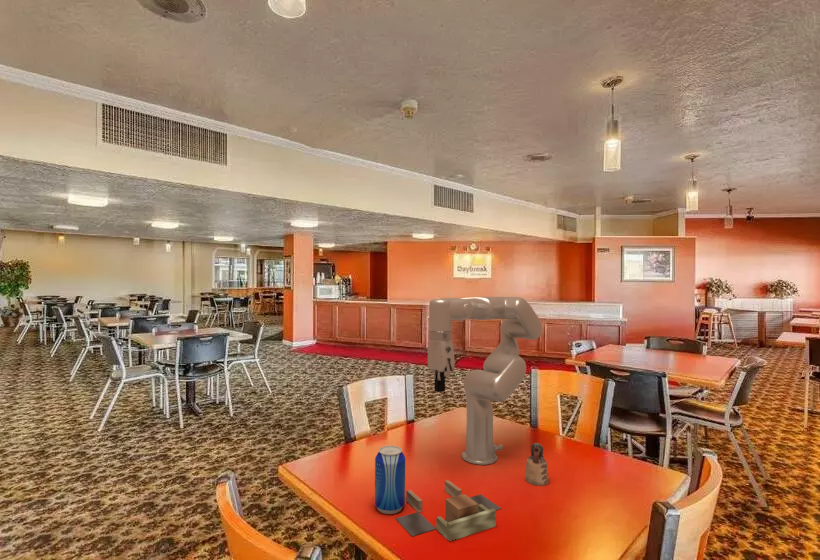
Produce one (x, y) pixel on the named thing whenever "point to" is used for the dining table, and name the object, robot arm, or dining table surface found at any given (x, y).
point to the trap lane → (453, 529)
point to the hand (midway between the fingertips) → (439, 391)
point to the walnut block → (460, 507)
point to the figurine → (536, 467)
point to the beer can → (390, 480)
